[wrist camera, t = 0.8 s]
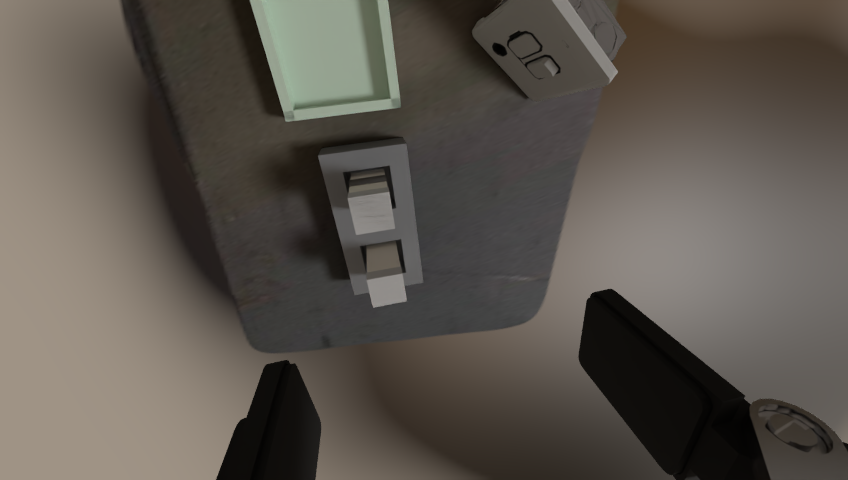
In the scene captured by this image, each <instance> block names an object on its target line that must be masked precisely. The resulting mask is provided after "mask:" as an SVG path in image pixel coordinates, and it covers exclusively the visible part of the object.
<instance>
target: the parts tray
mask: <svg viewBox="0 0 848 480" xmlns="http://www.w3.org/2000/svg"><path fill="white" fill-rule="evenodd" d="M250 3H251V6H252V9H253V13H254V16H255V20H256V23H257V26H258V30H259V33H260V36H261V40H262V43H263V46H264V50H265V53H266V56H267V60H268V63H269V66H270V70H271V73H272V76H273V80H274V83H275V86H276V90H277V93H278V96H279V100H280V103H281V106H282V110H283V113H284V116H285V120H286V122H289V121H297V120H305V119H313V118H321V117H329V116H337V115H345V114H353V113H361V112H369V111H377V110H384V109H392V108H400V107H401V103H400V95H399V86H398V78H397V70H396V62H395V54H394V46H393V38H392V30H391V22H390V13H389V5H388V0H250Z"/></svg>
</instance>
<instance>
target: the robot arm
mask: <svg viewBox="0 0 848 480" xmlns="http://www.w3.org/2000/svg"><path fill="white" fill-rule="evenodd" d="M579 361H580V364H581V366H582V367H583V369H584V370H585V371H586V372H587V374H588V375H589V376H590V378H591V379H592V380H593V382H594V383H595V384H596V385H597V387H598V388H599V389H600V390H601V392H602V393H603V394H604V396H605V397H606V398H607V399H608V401H609V402H610V403H611V404H612V406H613V407H614V408H615V409H616V411H617V412H618V413H619V415H620V416H621V417H622V418H623V420H624V421H625V422H626V424H627V425H628V426H629V427H630V428H631V430H632V431H633V432H634V434H635V435H636V436H637V438H638V439H639V440H640V441H641V443H642V444H643V445H644V446H645V448H646V449H647V450H648V452H649V453H650V454H651V455H652V457H653V458H654V459H655V460H656V462H657V463H658V464H659V466H660V467H661V468H662V469H663V470H664V471H665V472H666V473H667V474H669V475H673V476H674V477H675V479H676V480H848V444H847V443H844V442H842V441H841V439H840V438H839V437H838V435H837V434H836V433H835V431H833V430H832V429H831V428H830V427H829V426H828V425H827V424H826V423H825V422H823V421H822V420H820V419H819V418H817V417H816V416H814V415H813V414H811V413H810V412H808V411H806V410H804V409H802V408H800V407H798V406H796V405H793V404H790V403H787V402H784V401H780V400H775V399H758V400H756V401H753V402H752V404H749V403H748V402H747V401H746V400H745V399H744V397H745V395H743V394H742V393H741V392H740V391H738V390H737V389H736V388H735V387H733V386H732V385H731V384H730V383H729V382H727V381H726V380H725V379H723V378H722V377H721V376H720V375H719V374H717V373H716V372H715V371H714V370H712V369H711V368H710V367H709V366H707V365H706V364H705V363H704V362H703V361H701V360H700V359H699V358H698V357H696V356H695V355H694V354H693V353H691V352H690V351H689V350H688V349H686V348H685V347H684V346H682V345H681V344H680V343H679V342H678V341H677V340H675V339H674V338H673V337H671V336H670V335H669V334H668V333H667V332H665V331H664V330H663V329H662V328H660V327H659V326H658V325H657V324H655V323H654V322H653V321H652V320H650V319H649V318H648V317H647V316H646V315H644V314H643V313H642V312H641V311H639V310H638V309H637V308H636V307H634V306H633V305H632V304H631V303H629V302H628V301H627V300H626V299H624V298H623V297H622V296H621V295H619V294H618V293H617V292H616V291H614V290H612V289H607V290H603V291H598V292H594V293H592V294H591V296H590V298H588V299H587V303H586V310H585V316H584V322H583V329H582V336H581V343H580V349H579ZM320 436H321V422H320V418H319V416H318V414H317V411H316V409H315V407H314V404H313V402H312V400H311V397H310V395H309V393H308V391H307V388H306V386H305V384H304V382H303V379H302V377H301V375H300V372H299V370H298V368H297V366H296V364H290V363H289V361H287V360H284V361H280V362H275V363H271V364H267V365H266V366H265V367H264V369H263V372H262V375H261V378H260V380H259V383H258V386H257V389H256V392H255V395H254V398H253V400H252V404H251V406H250V409H249V412H248V415H247V418H244V419H242V420H240V422H239V423H238V424H237V426H236V428H235V430H234V433H233V436H232V438H231V441H230V444H229V447H228V449H227V452H226V455H225V457H224V460H223V463H222V465H221V468H220V471H219V473H218V476H217V479H216V480H315V477H316V469H317V461H318V452H319V444H320Z"/></svg>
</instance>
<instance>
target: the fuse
mask: <svg viewBox="0 0 848 480" xmlns="http://www.w3.org/2000/svg"><path fill="white" fill-rule="evenodd" d="M366 248H367V273H366V274H367V284H368V288H369V292H370V297H371V301H372V305H373V307H378V306H383V305H389V304H394V303H399V302H404V301H407V299H406V293H405V287H404V280H403V274H402V269H401V267H400V261H399V256H398V250H397V244H396V240H393V241H387V242H382V243H376V244H370V245H366Z"/></svg>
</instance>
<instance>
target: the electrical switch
mask: <svg viewBox="0 0 848 480" xmlns="http://www.w3.org/2000/svg"><path fill="white" fill-rule="evenodd" d="M581 1H582V3H581ZM580 3H581V6H579V5H580ZM573 6H574V7H573ZM577 8H578V9H577ZM600 23H601V24H600ZM594 24H595V25H594ZM593 25H594V26H593ZM472 35H473V37H474V39H475V40H476V41H477V42H478V43H479V44H480V45H481V46H482V47H483V48H484V50H485V51H486V52H487V53H488V54H489V55H490V56H491V57H492V58H493V59H494V60H495V61H496V63H497V64H498V65H499V66H500V67H501V68H502V69H503V70H504V71H505V72H506V73H507V74H508V76H509V77H510V78H511V79H512V80H513V81H514V82H515V83H516V84H517V85H518V86H519V88H520V89H521V90H522V91H523V92H524V93H525V94H526V95H527V96H528V97H529V98H530V99H531V100H533V101H536V102H537V101H541V100H546V99H550V98H554V97H559V96H563V95H567V94H572V93H576V92H581V91H585V90H589V89H594V88H598V87H602V86H606V85H608V84H609V83H610V82H611V81H612V79H613V78H614V76H615V75H616V74H617V72H618V71H617V70H616V68H615V67H614V66H613V64H612V63H611V62H612V61H613V60H614V58H615V56H616V53H617V51H618V49H619V48H620V46H621V45H622V43H623V42H624V40H625V39H626V37H627V36H626V35H625V33H624V32H623V30H622V28H621V27H620V25H619V24H618V22H617V21H616V19H615V18H614V16H613V15H612V13H611V11H610V10H609V8H608V7H607V5H606V4H605V2H604V1H603V0H503V1H502V3H501V5H500V6H499V8H497V9H496V10H495V11H494V12H492V13H491V14H490V15H488V16H487V17H486V18H484V17H483V18H481V19H480V20H479V21H477V23H476V25H475V26H474V28H473V30H472Z"/></svg>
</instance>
